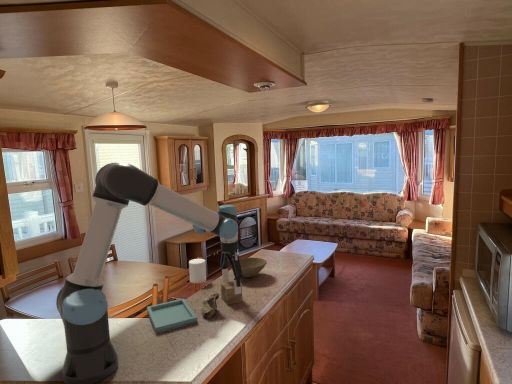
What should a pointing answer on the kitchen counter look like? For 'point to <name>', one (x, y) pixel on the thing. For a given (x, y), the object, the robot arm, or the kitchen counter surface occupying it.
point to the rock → (209, 305)
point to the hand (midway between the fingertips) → (231, 288)
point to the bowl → (251, 266)
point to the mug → (197, 271)
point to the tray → (171, 315)
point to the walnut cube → (230, 293)
